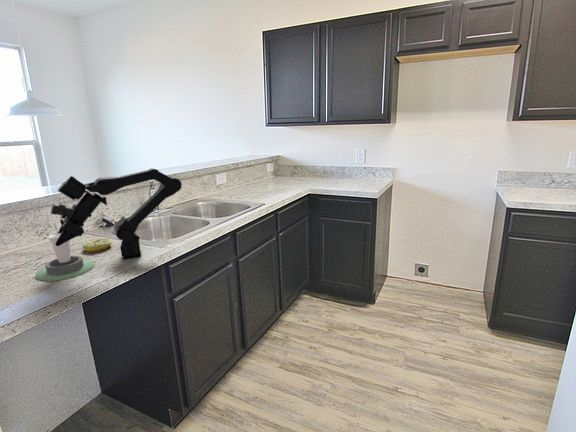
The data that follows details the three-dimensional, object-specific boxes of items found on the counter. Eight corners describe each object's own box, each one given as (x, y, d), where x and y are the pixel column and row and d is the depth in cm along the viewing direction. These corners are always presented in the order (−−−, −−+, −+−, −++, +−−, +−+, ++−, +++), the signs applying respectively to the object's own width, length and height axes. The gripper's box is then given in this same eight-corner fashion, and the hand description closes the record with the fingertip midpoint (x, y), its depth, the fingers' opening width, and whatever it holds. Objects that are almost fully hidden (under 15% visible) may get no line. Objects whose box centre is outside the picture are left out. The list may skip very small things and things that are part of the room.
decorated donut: (117, 245, 147) (116, 237, 146) (96, 254, 137) (94, 246, 136) (100, 243, 151) (98, 235, 150) (78, 251, 141) (76, 243, 140)
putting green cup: (97, 257, 134) (95, 249, 133) (90, 275, 118) (88, 266, 117) (43, 265, 127) (41, 257, 126) (28, 285, 111) (26, 275, 110)
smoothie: (50, 262, 121) (41, 224, 117) (69, 256, 126) (61, 220, 122) (59, 265, 117) (50, 227, 114) (78, 259, 122) (70, 222, 119)
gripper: (62, 190, 125) (32, 225, 122) (64, 198, 110) (31, 238, 107) (90, 207, 131) (63, 240, 128) (96, 217, 116) (66, 254, 113)
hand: (56, 243), depth 119 cm, fingers closed on smoothie, 6 cm apart
